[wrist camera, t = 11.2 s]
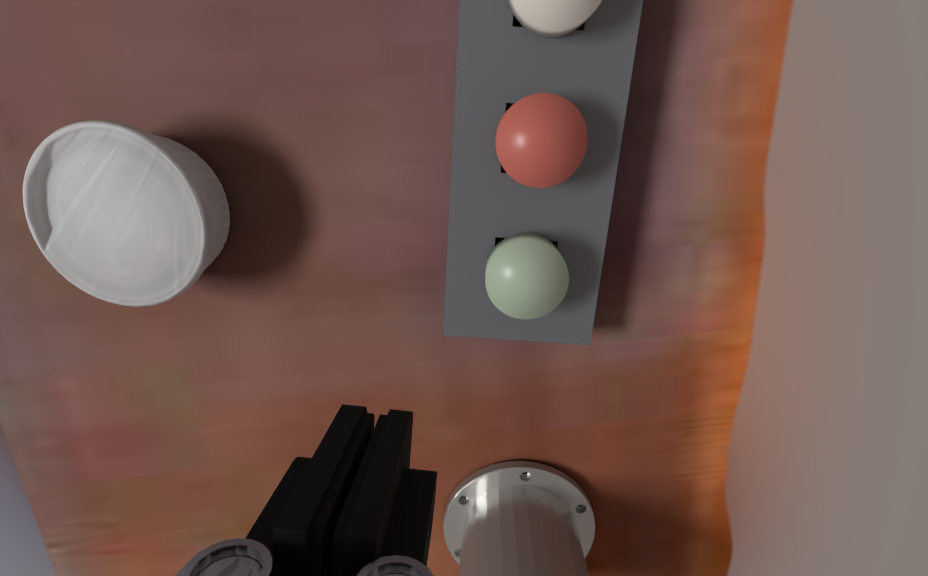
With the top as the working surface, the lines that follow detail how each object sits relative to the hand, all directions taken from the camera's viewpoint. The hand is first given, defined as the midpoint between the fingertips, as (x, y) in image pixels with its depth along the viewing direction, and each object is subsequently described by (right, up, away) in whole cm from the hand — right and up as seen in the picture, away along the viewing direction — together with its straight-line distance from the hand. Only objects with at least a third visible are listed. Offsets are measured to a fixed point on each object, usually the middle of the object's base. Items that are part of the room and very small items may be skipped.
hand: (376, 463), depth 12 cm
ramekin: (-19, +10, +23) cm, 31 cm away
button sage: (+6, +6, +22) cm, 24 cm away
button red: (+7, +14, +20) cm, 25 cm away
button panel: (+6, +14, +21) cm, 26 cm away
